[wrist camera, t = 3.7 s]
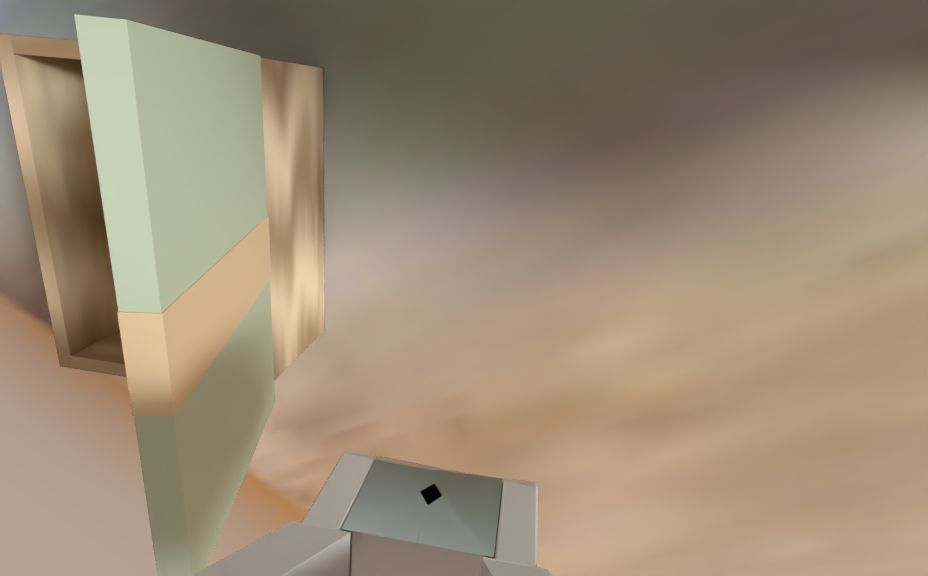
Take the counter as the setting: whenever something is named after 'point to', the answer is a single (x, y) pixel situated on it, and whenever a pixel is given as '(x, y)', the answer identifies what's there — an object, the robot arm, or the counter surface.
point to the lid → (185, 265)
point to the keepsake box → (82, 217)
